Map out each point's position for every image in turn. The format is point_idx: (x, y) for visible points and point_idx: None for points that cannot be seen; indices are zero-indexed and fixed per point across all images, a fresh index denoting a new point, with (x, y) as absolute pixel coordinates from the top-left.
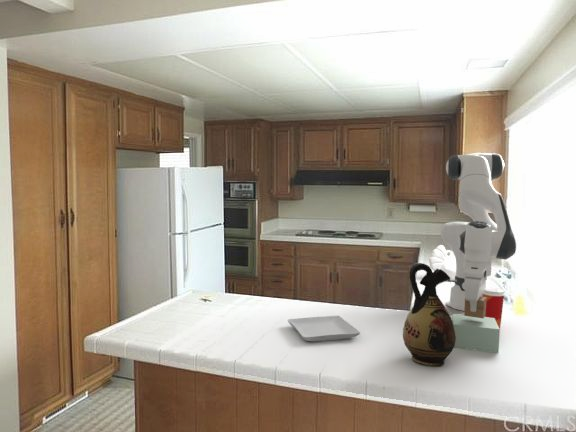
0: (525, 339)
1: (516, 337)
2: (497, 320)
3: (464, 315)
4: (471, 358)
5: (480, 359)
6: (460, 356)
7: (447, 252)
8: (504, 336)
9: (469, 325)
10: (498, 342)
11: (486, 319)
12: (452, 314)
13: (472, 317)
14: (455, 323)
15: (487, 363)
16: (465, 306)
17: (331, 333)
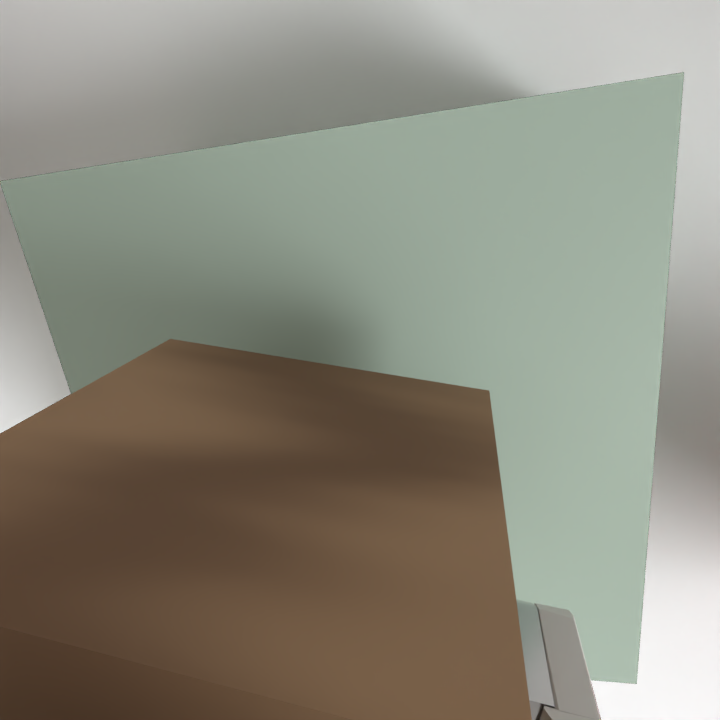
0: (675, 709)
1: (712, 667)
2: None
3: (168, 344)
4: (27, 329)
5: (49, 383)
6: (12, 255)
7: None
8: (709, 593)
9: (86, 379)
10: None
11: None
12: (629, 81)
13: (532, 429)
14: (49, 201)
15: (13, 418)
16: (39, 430)
17: None
